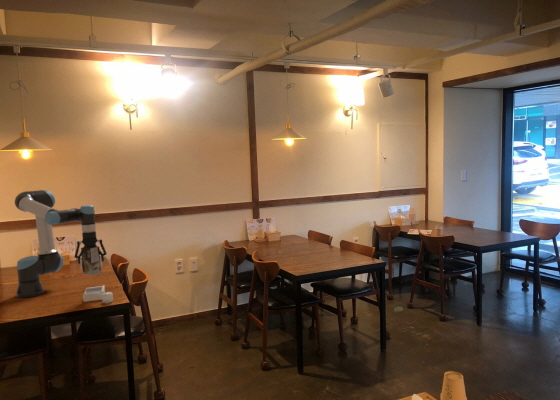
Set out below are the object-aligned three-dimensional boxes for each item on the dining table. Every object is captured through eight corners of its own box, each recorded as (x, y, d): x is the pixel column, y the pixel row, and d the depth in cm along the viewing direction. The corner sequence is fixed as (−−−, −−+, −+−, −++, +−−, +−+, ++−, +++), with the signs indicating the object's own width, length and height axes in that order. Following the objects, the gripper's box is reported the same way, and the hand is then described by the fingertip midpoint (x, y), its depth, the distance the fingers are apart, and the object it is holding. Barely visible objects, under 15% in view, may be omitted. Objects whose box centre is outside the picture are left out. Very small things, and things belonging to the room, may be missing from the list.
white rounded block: (102, 303, 247) (101, 295, 247) (102, 301, 253) (102, 292, 252) (112, 302, 249) (112, 294, 249) (113, 299, 254) (112, 291, 254)
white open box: (83, 301, 252) (82, 293, 252) (85, 295, 265) (85, 287, 265) (103, 299, 256) (103, 291, 255) (105, 292, 269) (104, 285, 268)
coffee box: (101, 272, 259) (99, 246, 258) (92, 275, 254) (90, 248, 253) (92, 271, 264) (90, 245, 263) (82, 273, 259) (80, 247, 257)
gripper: (67, 233, 250) (69, 271, 251) (109, 230, 257) (111, 267, 259) (68, 232, 257) (71, 268, 259) (109, 229, 264) (112, 264, 266)
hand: (91, 268), depth 259 cm, fingers closed on coffee box, 10 cm apart
